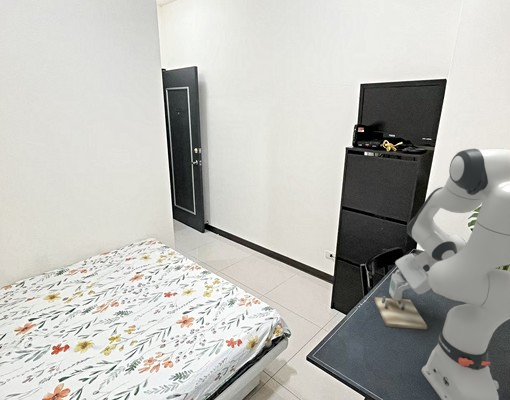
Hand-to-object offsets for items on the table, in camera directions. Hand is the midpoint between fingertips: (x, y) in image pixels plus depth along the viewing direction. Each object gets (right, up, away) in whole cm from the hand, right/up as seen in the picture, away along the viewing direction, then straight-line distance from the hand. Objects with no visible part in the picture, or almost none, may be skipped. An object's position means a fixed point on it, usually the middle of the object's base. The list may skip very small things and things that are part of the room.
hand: (395, 283), depth 119 cm
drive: (+1, -6, +2) cm, 6 cm away
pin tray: (+1, -12, 0) cm, 13 cm away
